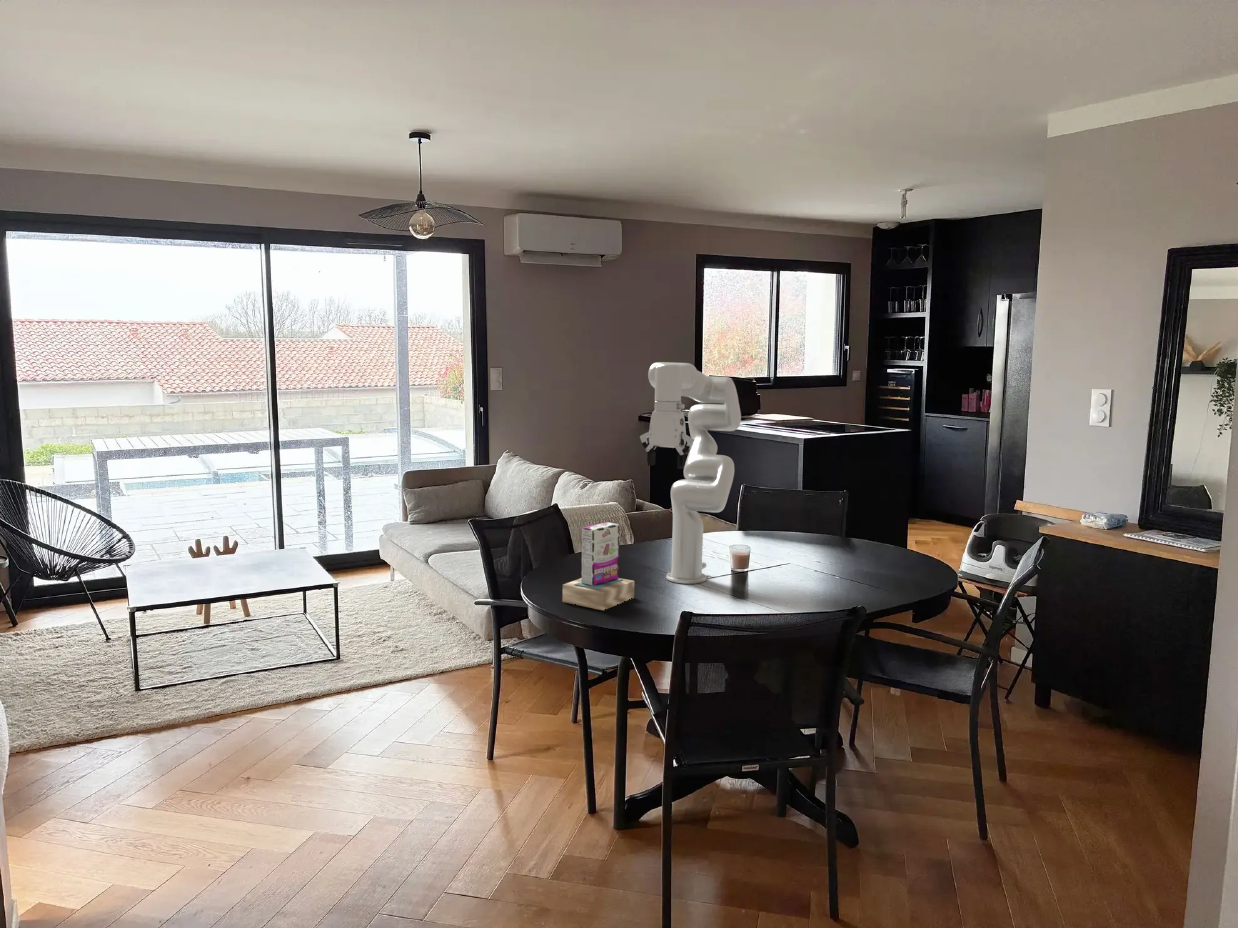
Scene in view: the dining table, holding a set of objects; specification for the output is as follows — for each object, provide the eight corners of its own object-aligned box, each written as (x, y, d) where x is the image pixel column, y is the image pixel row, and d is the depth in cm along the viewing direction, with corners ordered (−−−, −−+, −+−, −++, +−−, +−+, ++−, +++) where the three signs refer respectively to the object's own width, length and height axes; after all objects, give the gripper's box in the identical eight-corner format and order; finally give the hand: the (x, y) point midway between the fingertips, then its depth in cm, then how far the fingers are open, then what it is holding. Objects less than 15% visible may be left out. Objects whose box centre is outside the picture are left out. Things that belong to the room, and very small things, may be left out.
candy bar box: (606, 576, 270) (607, 521, 268) (618, 579, 267) (620, 524, 265) (579, 583, 262) (580, 526, 259) (592, 586, 258) (593, 529, 256)
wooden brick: (594, 589, 275) (594, 572, 274) (634, 597, 268) (634, 579, 267) (562, 601, 262) (562, 583, 261) (603, 610, 254) (603, 591, 254)
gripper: (700, 408, 261) (698, 468, 263) (648, 405, 270) (646, 462, 272) (688, 409, 254) (686, 471, 257) (634, 406, 264) (633, 465, 266)
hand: (665, 466), depth 264 cm, fingers open, 9 cm apart
